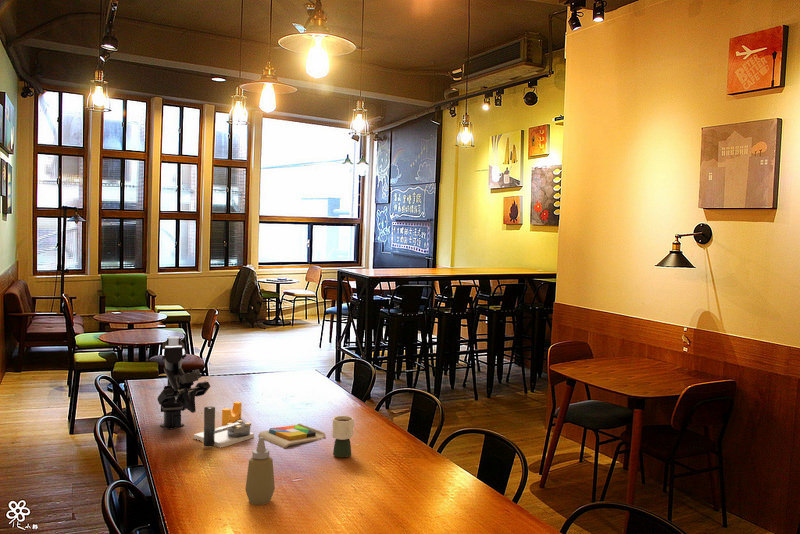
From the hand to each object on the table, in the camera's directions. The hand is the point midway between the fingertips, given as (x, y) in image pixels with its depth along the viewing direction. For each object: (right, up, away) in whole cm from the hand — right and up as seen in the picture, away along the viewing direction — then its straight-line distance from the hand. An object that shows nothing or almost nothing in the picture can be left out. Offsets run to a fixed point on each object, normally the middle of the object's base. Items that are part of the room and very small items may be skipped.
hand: (194, 412), depth 220 cm
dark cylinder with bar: (+11, -10, +1) cm, 15 cm away
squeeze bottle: (+34, -14, -47) cm, 60 cm away
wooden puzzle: (+33, -12, +9) cm, 37 cm away
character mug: (+53, -13, -9) cm, 56 cm away
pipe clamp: (+6, -10, +25) cm, 28 cm away
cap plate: (+9, -11, +5) cm, 15 cm away
